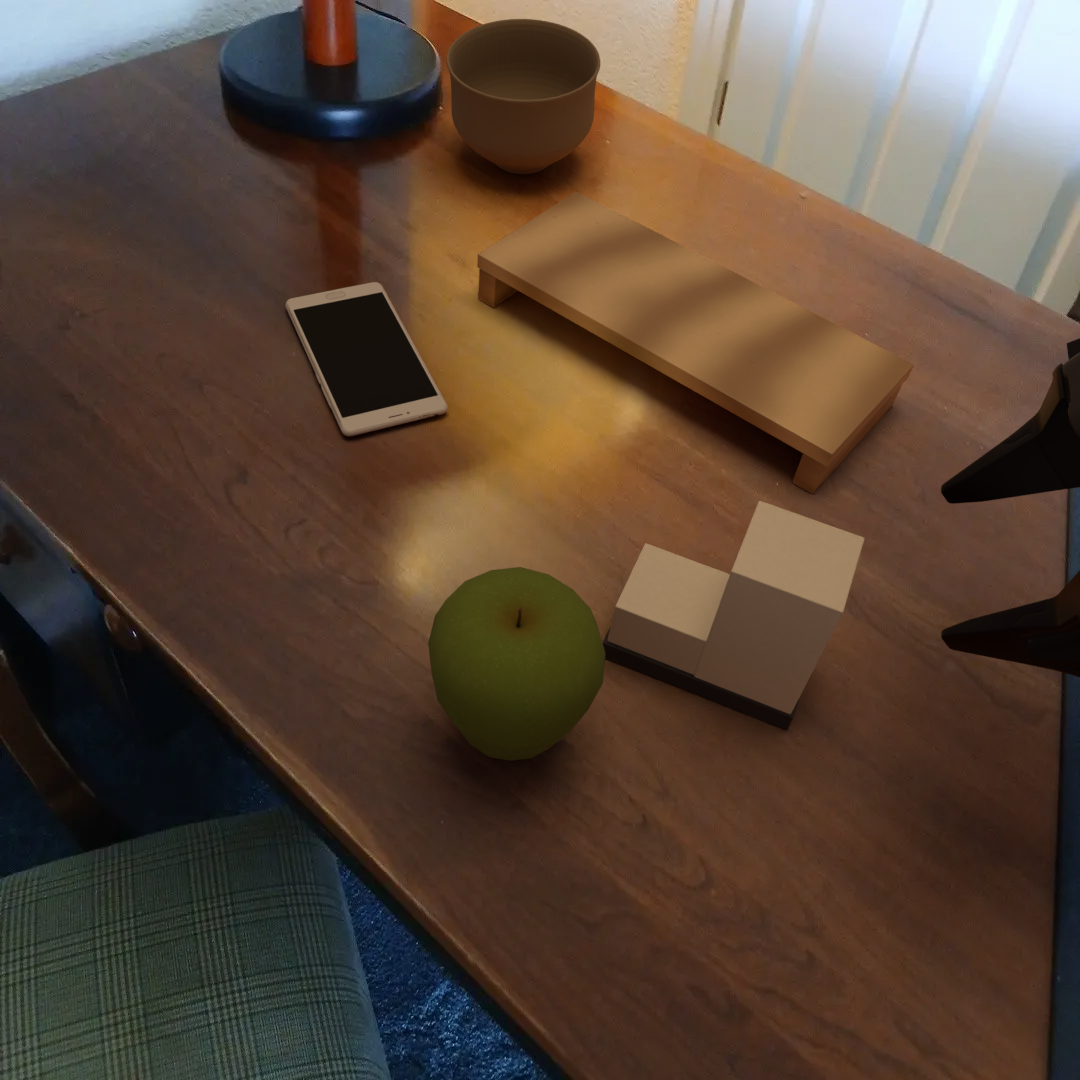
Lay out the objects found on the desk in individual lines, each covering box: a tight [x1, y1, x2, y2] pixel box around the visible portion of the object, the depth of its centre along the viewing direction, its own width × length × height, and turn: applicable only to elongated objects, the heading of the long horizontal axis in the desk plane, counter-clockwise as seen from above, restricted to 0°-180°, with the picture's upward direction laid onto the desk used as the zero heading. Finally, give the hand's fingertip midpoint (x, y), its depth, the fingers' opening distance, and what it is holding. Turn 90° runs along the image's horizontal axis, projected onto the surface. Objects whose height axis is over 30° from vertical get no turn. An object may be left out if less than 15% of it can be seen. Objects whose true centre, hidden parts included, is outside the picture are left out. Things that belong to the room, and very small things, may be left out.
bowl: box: [445, 18, 601, 175], centre depth 89 cm, size 13×13×10 cm
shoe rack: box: [476, 190, 915, 495], centre depth 77 cm, size 30×12×4 cm, turn 51°
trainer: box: [602, 500, 865, 731], centre depth 57 cm, size 11×5×11 cm, turn 67°
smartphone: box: [285, 281, 449, 437], centre depth 75 cm, size 8×1×15 cm
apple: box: [427, 566, 606, 762], centre depth 52 cm, size 9×8×12 cm
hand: (944, 563), depth 50 cm, fingers open, 9 cm apart
